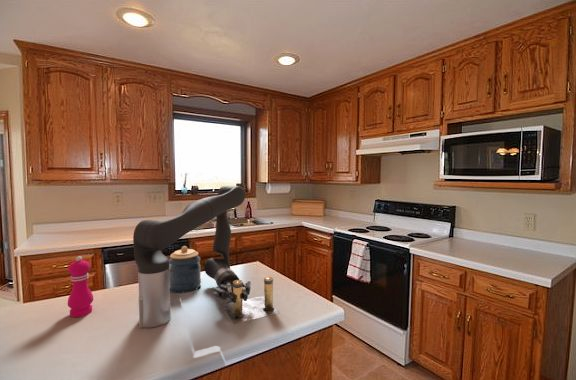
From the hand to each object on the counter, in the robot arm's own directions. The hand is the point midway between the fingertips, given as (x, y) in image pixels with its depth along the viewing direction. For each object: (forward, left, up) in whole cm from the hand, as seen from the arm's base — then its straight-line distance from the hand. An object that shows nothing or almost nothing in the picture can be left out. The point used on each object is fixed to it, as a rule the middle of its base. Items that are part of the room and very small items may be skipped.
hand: (240, 298), depth 90 cm
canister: (-13, +39, -8) cm, 42 cm away
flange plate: (+5, +6, -8) cm, 12 cm away
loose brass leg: (0, +3, -6) cm, 7 cm away
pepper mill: (-48, +31, -8) cm, 58 cm away
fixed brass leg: (+11, +3, -7) cm, 13 cm away
